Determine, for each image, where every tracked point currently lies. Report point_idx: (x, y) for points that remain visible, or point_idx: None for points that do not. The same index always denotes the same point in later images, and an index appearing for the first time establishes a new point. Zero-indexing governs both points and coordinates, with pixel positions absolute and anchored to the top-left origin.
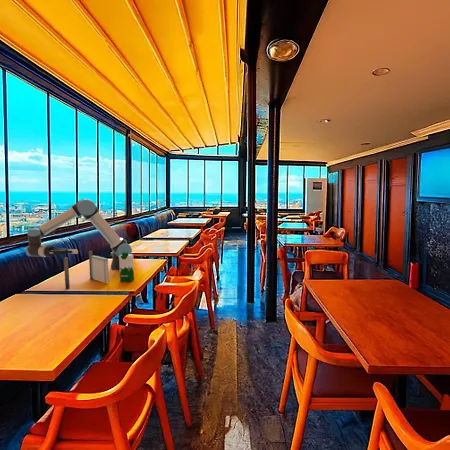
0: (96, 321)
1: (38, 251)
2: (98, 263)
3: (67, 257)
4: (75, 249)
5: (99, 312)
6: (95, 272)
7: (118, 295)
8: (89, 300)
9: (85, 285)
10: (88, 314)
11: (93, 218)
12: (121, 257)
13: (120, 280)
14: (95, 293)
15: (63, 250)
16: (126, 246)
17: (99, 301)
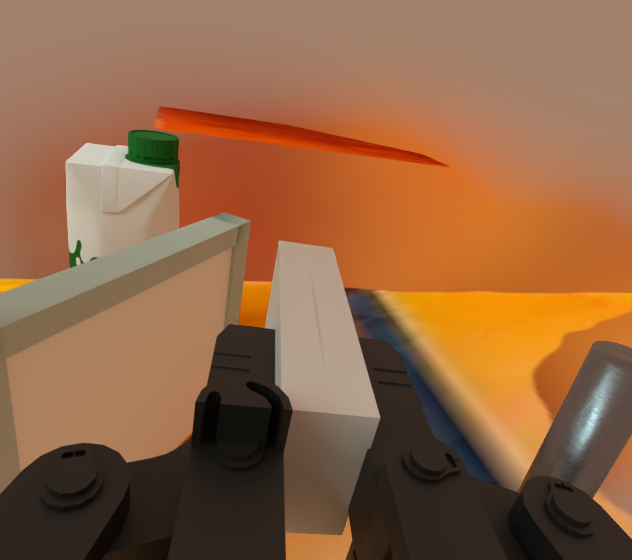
0: (599, 299)
1: None
2: (153, 325)
3: (597, 348)
4: (297, 265)
5: (560, 309)
6: None
7: (399, 309)
8: (517, 367)
9: (290, 543)
10: (595, 324)
11: None
12: (176, 177)
13: None
14: (427, 385)
15: (590, 511)
16: None
17: (496, 336)
